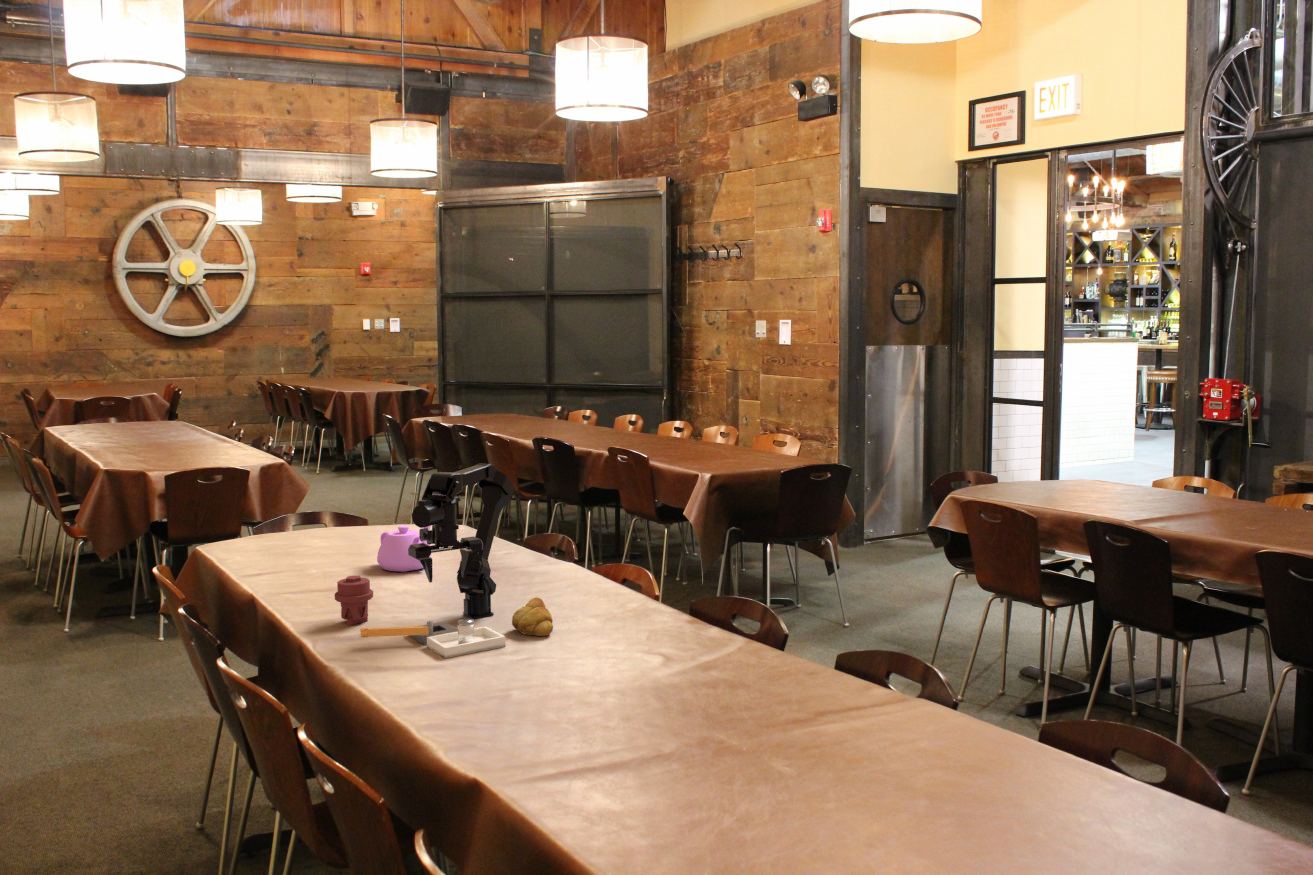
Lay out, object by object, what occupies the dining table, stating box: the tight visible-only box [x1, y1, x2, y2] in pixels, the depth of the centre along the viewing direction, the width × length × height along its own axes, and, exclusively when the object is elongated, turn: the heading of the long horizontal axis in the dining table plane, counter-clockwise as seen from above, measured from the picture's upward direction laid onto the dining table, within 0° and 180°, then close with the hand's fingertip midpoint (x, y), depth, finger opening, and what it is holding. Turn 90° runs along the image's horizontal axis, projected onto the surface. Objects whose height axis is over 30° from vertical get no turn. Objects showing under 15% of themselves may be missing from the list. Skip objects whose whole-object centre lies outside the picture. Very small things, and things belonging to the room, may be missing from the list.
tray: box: [426, 625, 506, 659], centre depth 267 cm, size 16×11×2 cm
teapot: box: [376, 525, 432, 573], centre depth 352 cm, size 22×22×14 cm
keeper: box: [360, 620, 434, 638], centre depth 269 cm, size 2×18×3 cm, turn 97°
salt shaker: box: [457, 617, 475, 645], centre depth 267 cm, size 4×4×6 cm
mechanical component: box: [334, 575, 374, 626], centre depth 288 cm, size 12×10×10 cm
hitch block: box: [408, 621, 458, 646], centre depth 275 cm, size 10×10×2 cm
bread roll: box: [511, 597, 554, 637], centre depth 279 cm, size 13×10×8 cm
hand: (446, 579), depth 281 cm, fingers open, 9 cm apart
